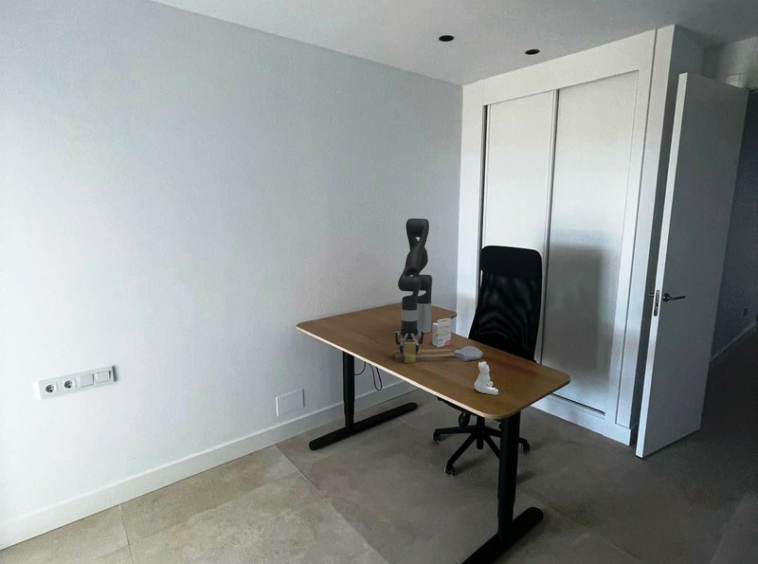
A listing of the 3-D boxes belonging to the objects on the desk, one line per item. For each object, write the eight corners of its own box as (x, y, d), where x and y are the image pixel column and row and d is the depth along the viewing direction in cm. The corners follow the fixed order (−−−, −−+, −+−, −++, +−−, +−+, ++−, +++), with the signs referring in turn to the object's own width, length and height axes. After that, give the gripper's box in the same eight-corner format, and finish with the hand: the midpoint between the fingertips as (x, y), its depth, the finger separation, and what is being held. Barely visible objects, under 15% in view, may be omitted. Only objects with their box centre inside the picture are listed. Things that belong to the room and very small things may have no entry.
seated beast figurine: (499, 395, 164) (501, 366, 162) (477, 396, 164) (478, 367, 161) (491, 385, 173) (493, 357, 171) (471, 385, 173) (472, 357, 171)
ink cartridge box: (445, 342, 226) (446, 315, 223) (450, 345, 222) (451, 317, 219) (431, 344, 222) (432, 317, 220) (437, 347, 218) (437, 319, 215)
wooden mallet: (401, 351, 211) (401, 334, 209) (411, 351, 211) (411, 333, 209) (404, 362, 196) (404, 344, 195) (415, 362, 197) (415, 343, 195)
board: (394, 354, 208) (394, 349, 207) (450, 353, 209) (451, 348, 209) (396, 362, 198) (396, 357, 197) (455, 360, 200) (455, 355, 199)
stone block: (484, 361, 205) (468, 351, 212) (485, 352, 203) (470, 343, 210) (467, 367, 198) (452, 357, 205) (469, 358, 196) (453, 348, 203)
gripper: (423, 315, 201) (422, 349, 204) (393, 316, 200) (393, 350, 203) (425, 320, 194) (425, 355, 197) (394, 320, 193) (394, 355, 196)
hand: (408, 352), depth 200 cm, fingers open, 6 cm apart
